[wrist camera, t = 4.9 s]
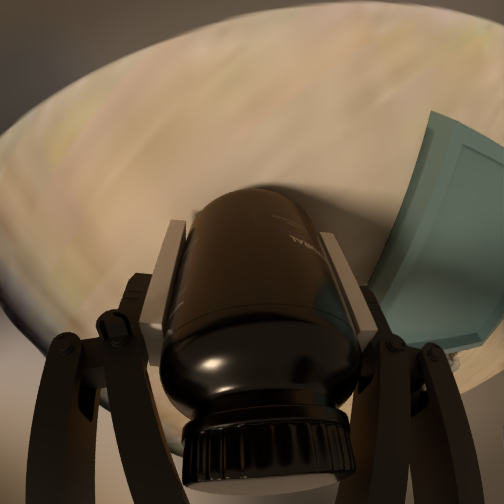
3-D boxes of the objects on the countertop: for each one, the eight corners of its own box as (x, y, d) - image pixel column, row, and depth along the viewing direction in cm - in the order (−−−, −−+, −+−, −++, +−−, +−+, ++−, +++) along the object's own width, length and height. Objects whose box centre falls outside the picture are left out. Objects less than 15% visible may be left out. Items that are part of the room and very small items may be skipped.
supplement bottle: (330, 196, 14) (449, 432, 4) (293, 294, 18) (332, 489, 8) (192, 173, 13) (122, 459, 3) (182, 281, 17) (157, 492, 7)
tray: (556, 186, 14) (570, 198, 13) (473, 332, 26) (481, 345, 24) (431, 110, 12) (455, 120, 10) (333, 348, 24) (339, 369, 22)
